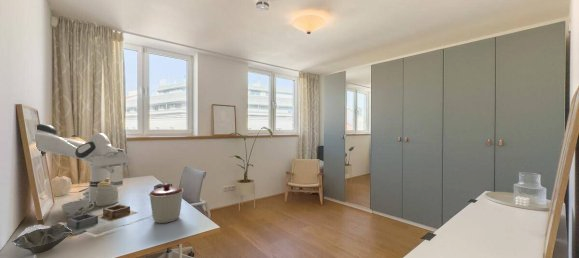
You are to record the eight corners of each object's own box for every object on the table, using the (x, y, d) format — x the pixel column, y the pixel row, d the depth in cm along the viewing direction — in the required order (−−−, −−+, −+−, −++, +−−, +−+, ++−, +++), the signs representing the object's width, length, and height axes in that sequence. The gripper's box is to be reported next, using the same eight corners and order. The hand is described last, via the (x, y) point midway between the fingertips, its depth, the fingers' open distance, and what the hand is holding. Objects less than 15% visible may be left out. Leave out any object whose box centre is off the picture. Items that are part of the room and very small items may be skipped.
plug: (110, 186, 144) (110, 166, 143) (117, 184, 147) (117, 165, 147) (115, 187, 141) (115, 167, 141) (122, 185, 145) (122, 166, 145)
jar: (98, 201, 172) (98, 177, 171) (120, 199, 177) (120, 175, 177) (92, 207, 160) (92, 181, 160) (116, 204, 165) (116, 179, 165)
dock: (56, 228, 126) (56, 219, 126) (90, 218, 140) (90, 210, 140) (73, 235, 119) (73, 225, 119) (107, 224, 132) (107, 215, 132)
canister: (144, 228, 127) (143, 188, 127) (153, 215, 145) (153, 181, 144) (181, 224, 132) (180, 186, 132) (186, 212, 149) (185, 179, 149)
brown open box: (94, 217, 142) (94, 209, 142) (121, 209, 155) (121, 202, 155) (111, 223, 134) (111, 214, 134) (138, 214, 147) (138, 206, 147)
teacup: (62, 222, 135) (62, 208, 135) (60, 216, 143) (60, 203, 143) (96, 214, 146) (96, 201, 146) (92, 210, 154) (92, 197, 154)
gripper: (89, 152, 138) (99, 170, 134) (126, 149, 156) (136, 165, 152) (85, 159, 140) (95, 178, 136) (122, 156, 158) (132, 171, 154)
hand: (117, 171), depth 144 cm, fingers closed on plug, 4 cm apart
